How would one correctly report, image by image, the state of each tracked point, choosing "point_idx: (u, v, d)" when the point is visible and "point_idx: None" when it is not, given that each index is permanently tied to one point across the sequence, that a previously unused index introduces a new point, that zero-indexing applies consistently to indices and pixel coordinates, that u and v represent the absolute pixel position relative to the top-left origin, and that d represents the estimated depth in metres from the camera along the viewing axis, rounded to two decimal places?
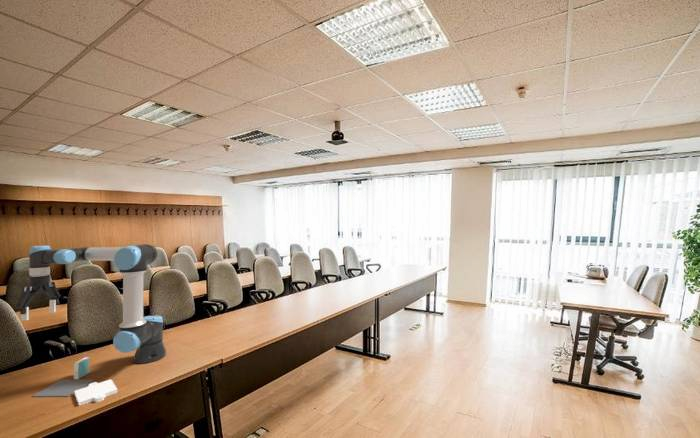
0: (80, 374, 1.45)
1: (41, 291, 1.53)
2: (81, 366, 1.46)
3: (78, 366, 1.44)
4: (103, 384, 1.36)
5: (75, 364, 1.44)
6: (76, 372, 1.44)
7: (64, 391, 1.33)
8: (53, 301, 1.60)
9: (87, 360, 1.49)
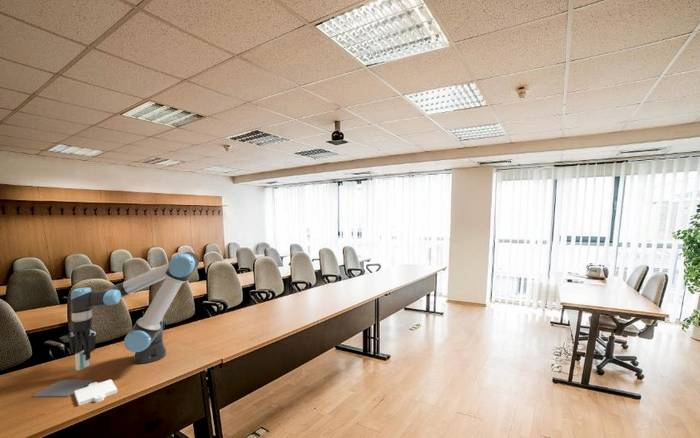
0: (82, 366, 1.45)
1: (80, 337, 1.46)
2: (82, 358, 1.46)
3: (79, 357, 1.44)
4: (103, 384, 1.36)
5: (76, 355, 1.44)
6: (78, 363, 1.44)
7: (64, 391, 1.33)
8: None
9: None
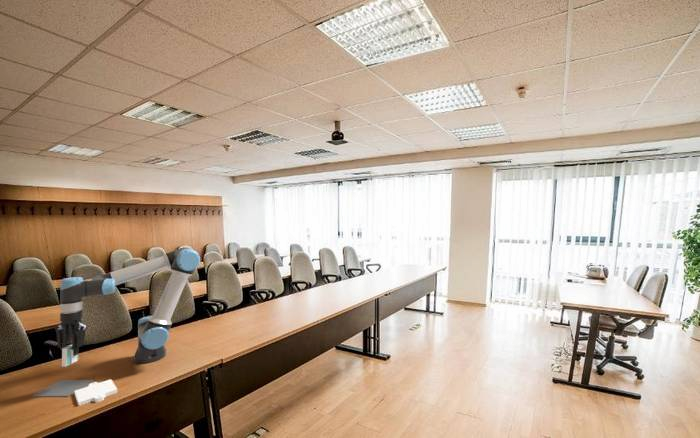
0: (69, 361, 1.34)
1: (68, 330, 1.35)
2: None
3: (67, 352, 1.33)
4: (103, 384, 1.36)
5: (63, 350, 1.33)
6: (64, 359, 1.33)
7: (64, 391, 1.33)
8: None
9: None
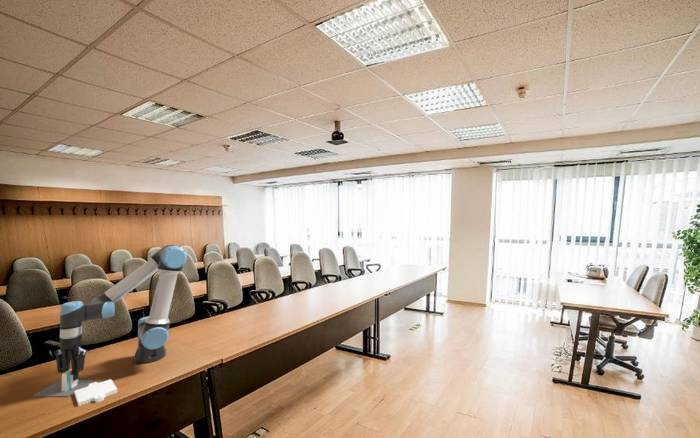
0: (68, 386, 1.34)
1: (68, 355, 1.35)
2: None
3: (66, 377, 1.33)
4: (103, 384, 1.36)
5: (62, 375, 1.33)
6: (64, 384, 1.33)
7: (64, 391, 1.33)
8: None
9: None
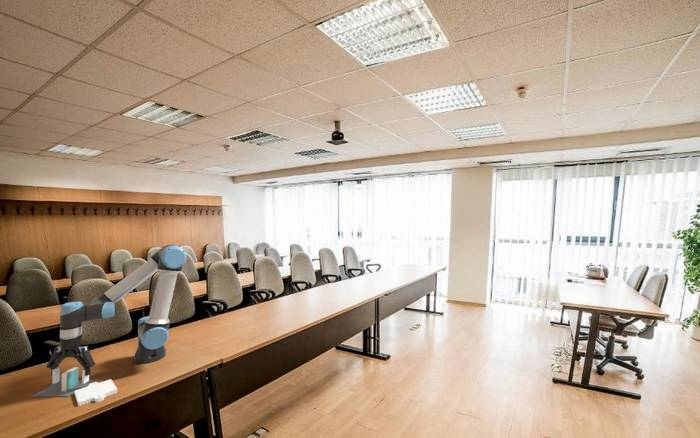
0: (68, 386, 1.34)
1: (68, 355, 1.35)
2: (70, 377, 1.35)
3: (66, 377, 1.33)
4: (103, 384, 1.36)
5: (62, 375, 1.33)
6: (64, 384, 1.33)
7: (64, 391, 1.33)
8: None
9: (76, 370, 1.38)
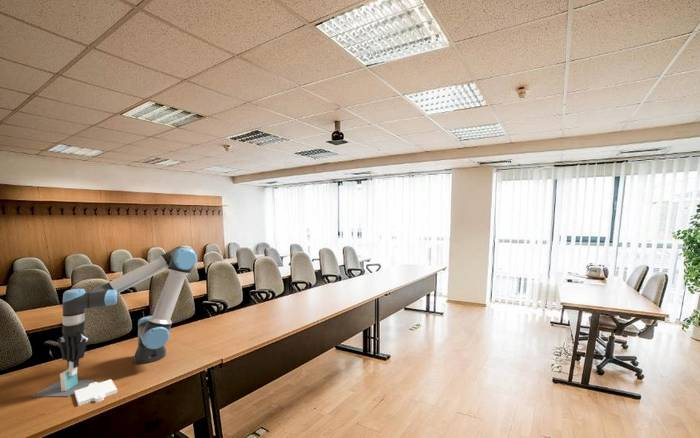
0: (68, 386, 1.34)
1: (71, 342, 1.35)
2: (68, 377, 1.35)
3: (65, 377, 1.33)
4: (103, 384, 1.36)
5: (61, 375, 1.33)
6: (63, 383, 1.33)
7: (64, 391, 1.33)
8: None
9: None
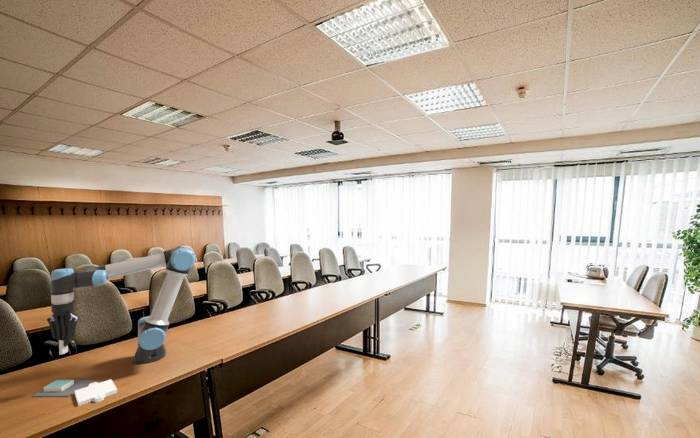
0: (60, 385, 1.34)
1: (60, 321, 1.35)
2: (54, 384, 1.34)
3: (48, 386, 1.33)
4: (103, 384, 1.36)
5: (45, 390, 1.33)
6: (54, 388, 1.33)
7: (64, 391, 1.33)
8: None
9: (57, 380, 1.38)
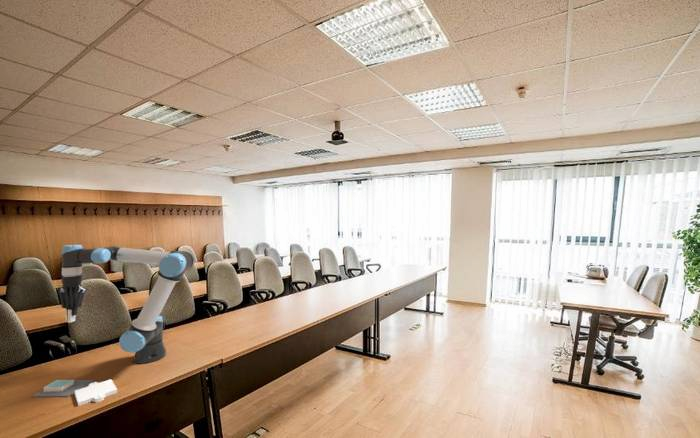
0: (60, 385, 1.34)
1: (69, 292, 1.48)
2: (54, 384, 1.34)
3: (48, 386, 1.33)
4: (103, 384, 1.36)
5: (45, 390, 1.33)
6: (54, 388, 1.33)
7: (64, 391, 1.33)
8: None
9: (57, 380, 1.38)
